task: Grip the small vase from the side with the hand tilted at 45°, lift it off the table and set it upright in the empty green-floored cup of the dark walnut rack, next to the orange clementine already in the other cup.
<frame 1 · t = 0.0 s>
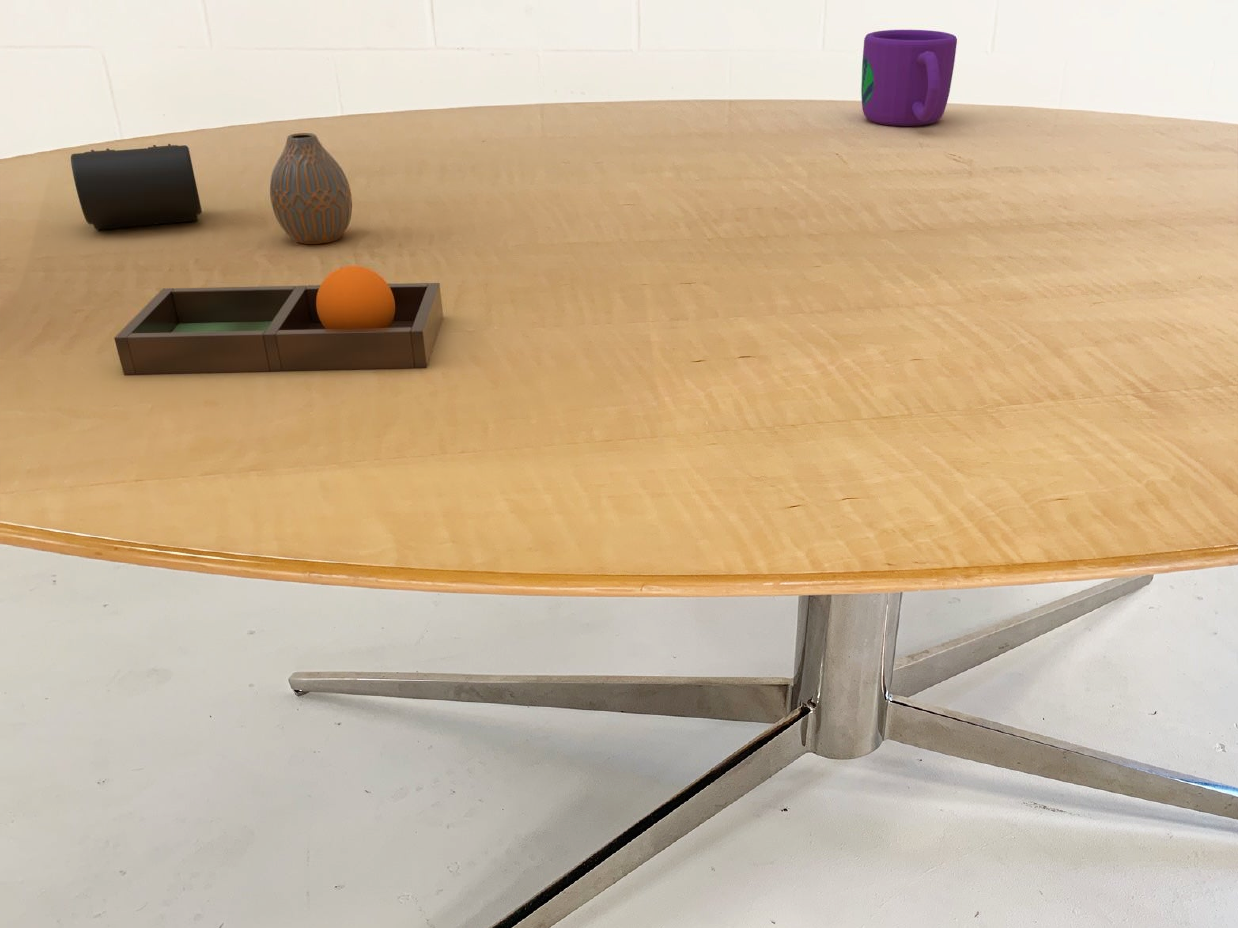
rack: (294, 352, 81), on the table
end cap: (148, 226, 110), on the table
mug: (908, 126, 148), on the table
vase: (318, 240, 105), on the table
clementine: (361, 342, 81), point 1 cm above the table, touching rack
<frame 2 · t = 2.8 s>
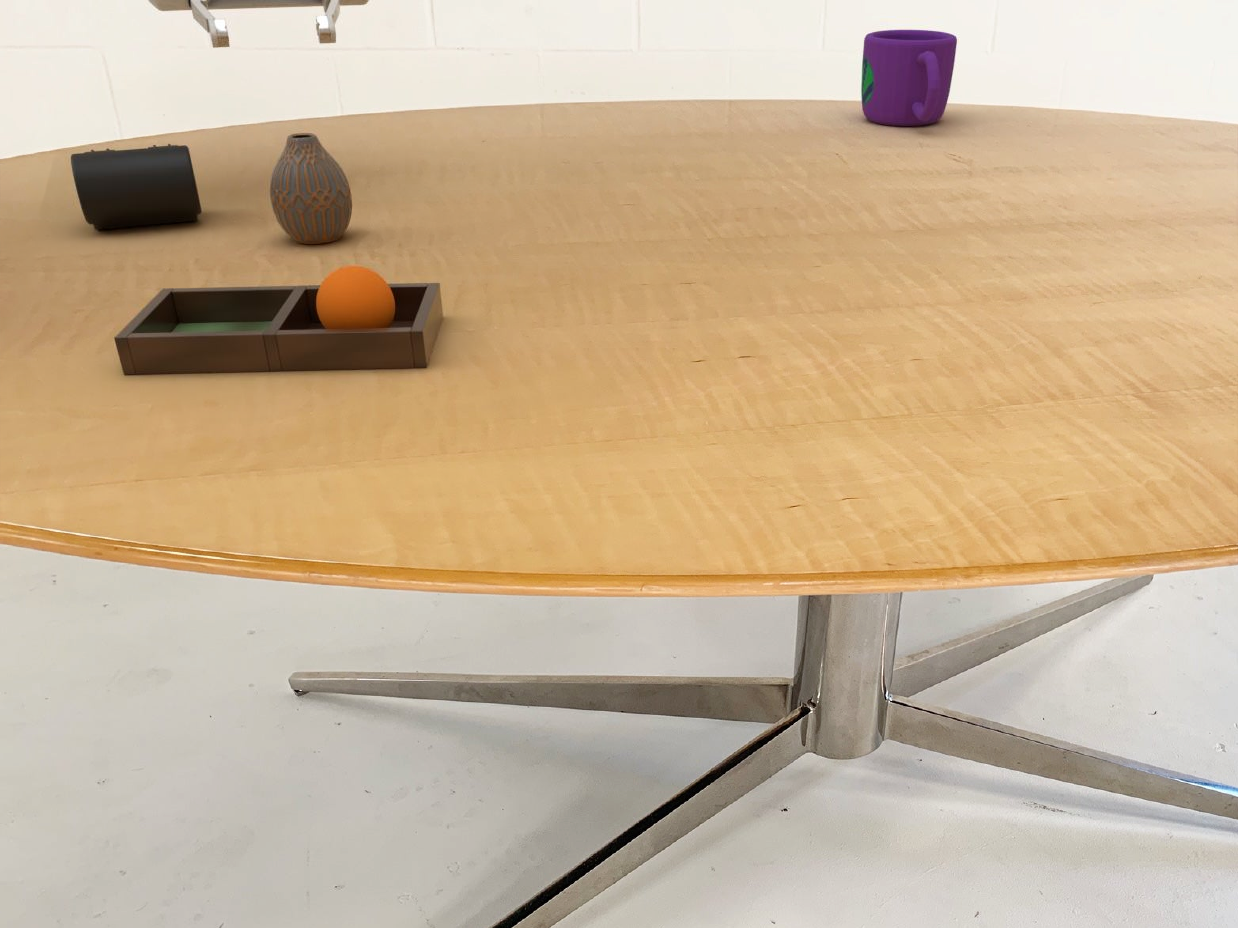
hand: (275, 41, 106), 15 cm above the table, tool tilted 45°, fingers open, 8 cm apart
nothing on the table moved.
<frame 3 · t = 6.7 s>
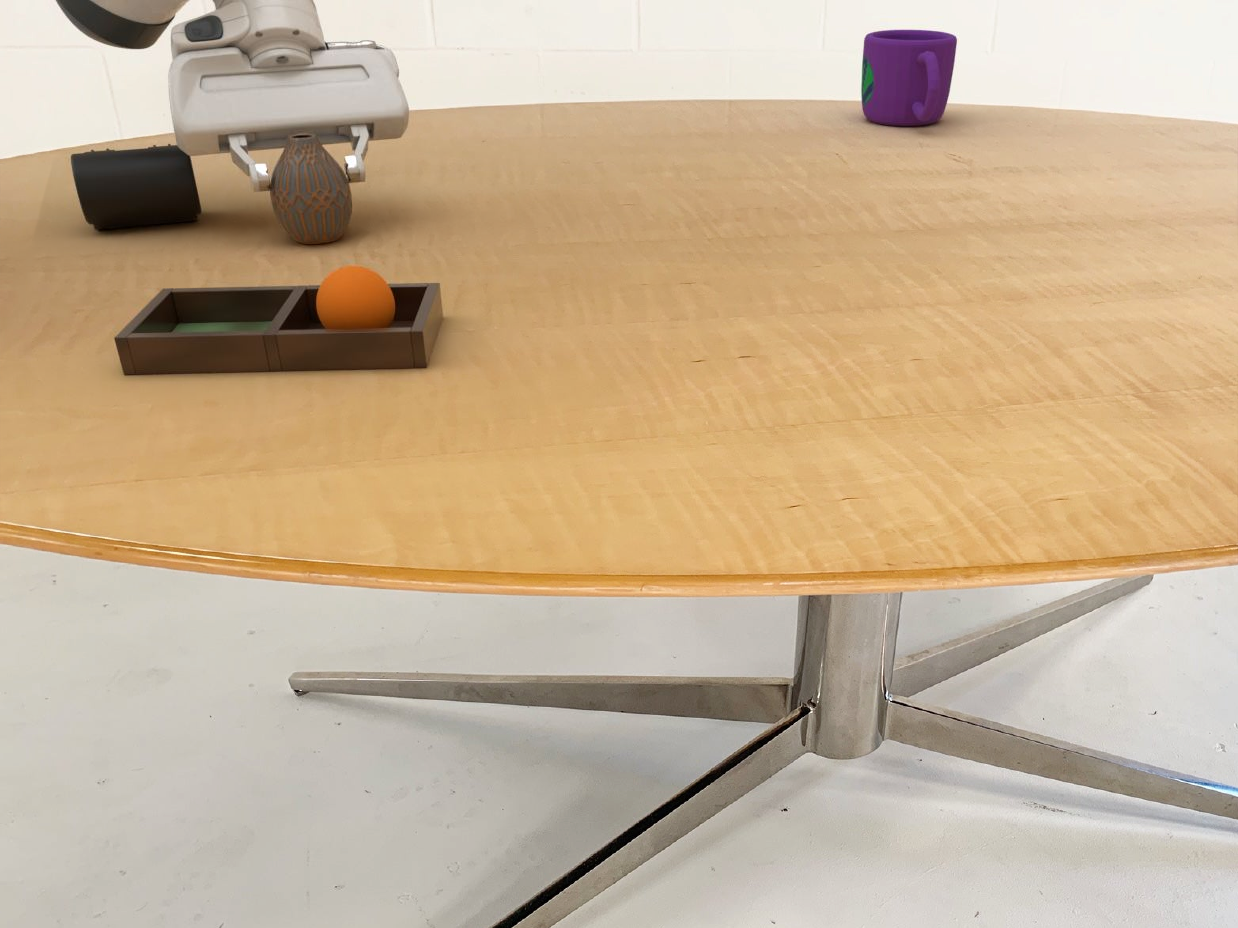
hand: (309, 183, 102), 5 cm above the table, tool tilted 45°, fingers closed on vase, 7 cm apart
vase: (318, 240, 105), on the table, touching gripper
everything else where it was.
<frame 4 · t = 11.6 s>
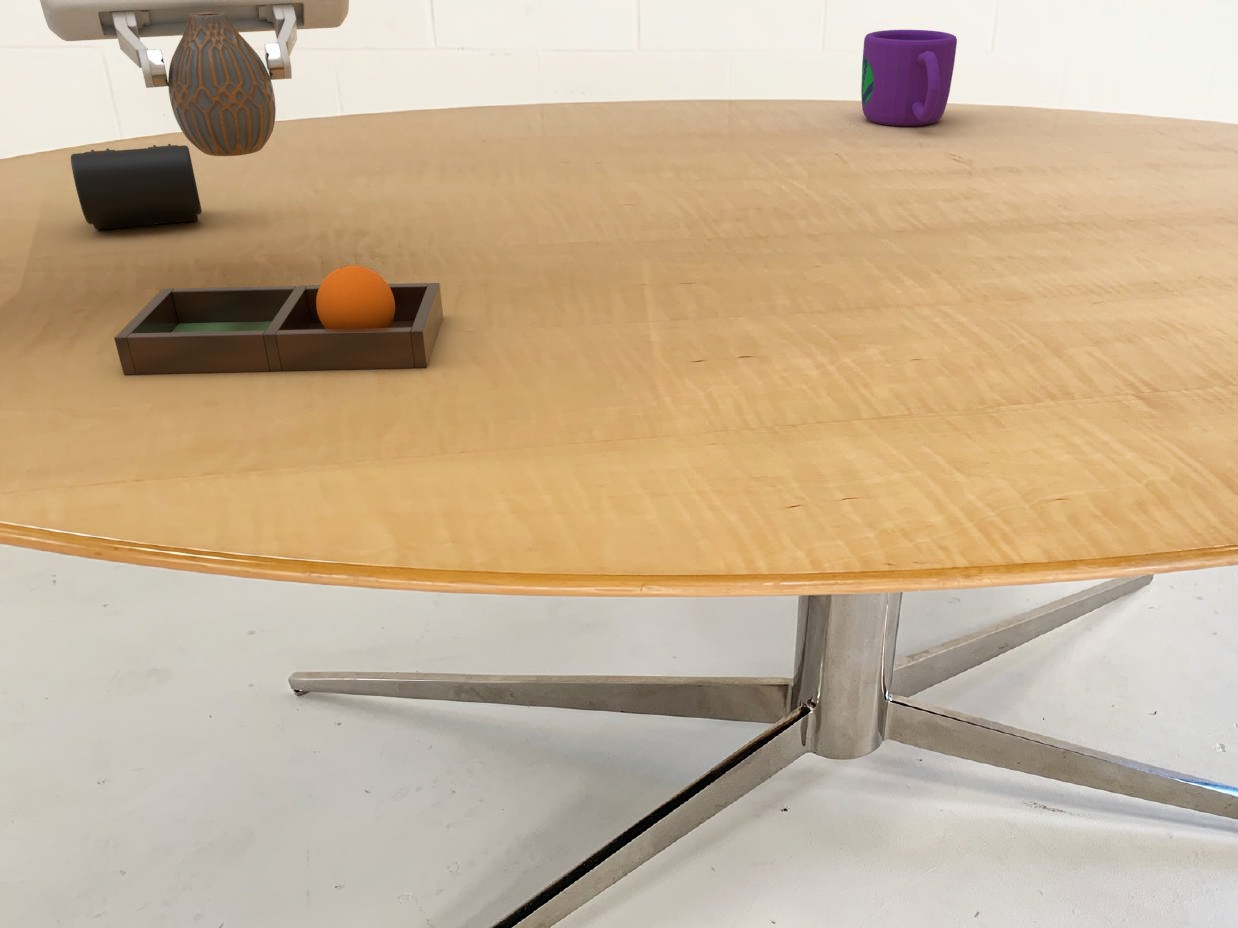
hand: (219, 77, 80), 16 cm above the table, tool tilted 45°, fingers closed on vase, 7 cm apart
vase: (233, 153, 83), point 11 cm above the table, touching gripper
everything else where it was.
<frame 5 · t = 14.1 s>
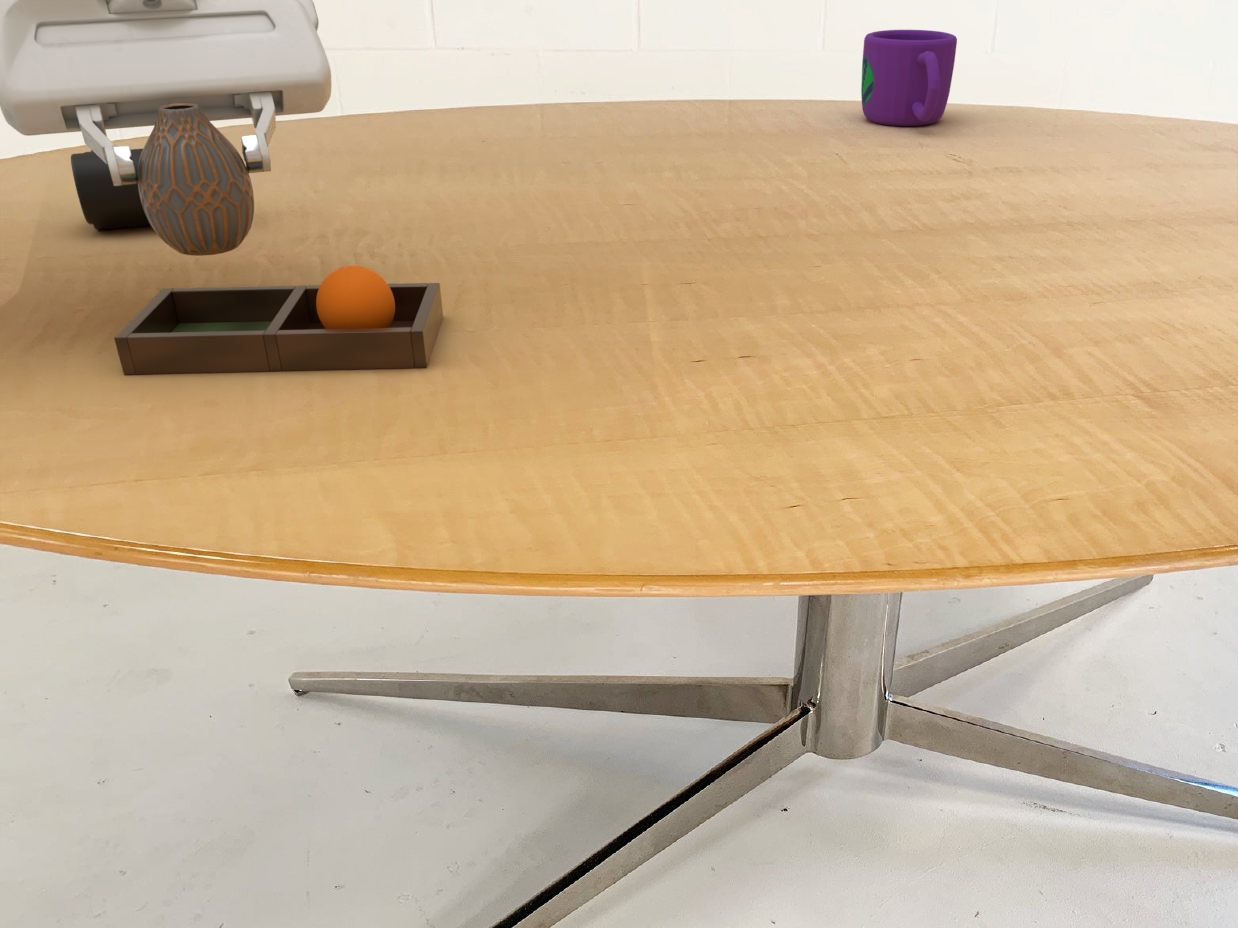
hand: (192, 173, 74), 12 cm above the table, tool tilted 45°, fingers closed on vase, 7 cm apart
vase: (209, 250, 77), point 7 cm above the table, touching gripper
everything else where it was.
when the fingers open (5 cm above the table, at t = 16.4 s): vase stays where it is, resting on rack.
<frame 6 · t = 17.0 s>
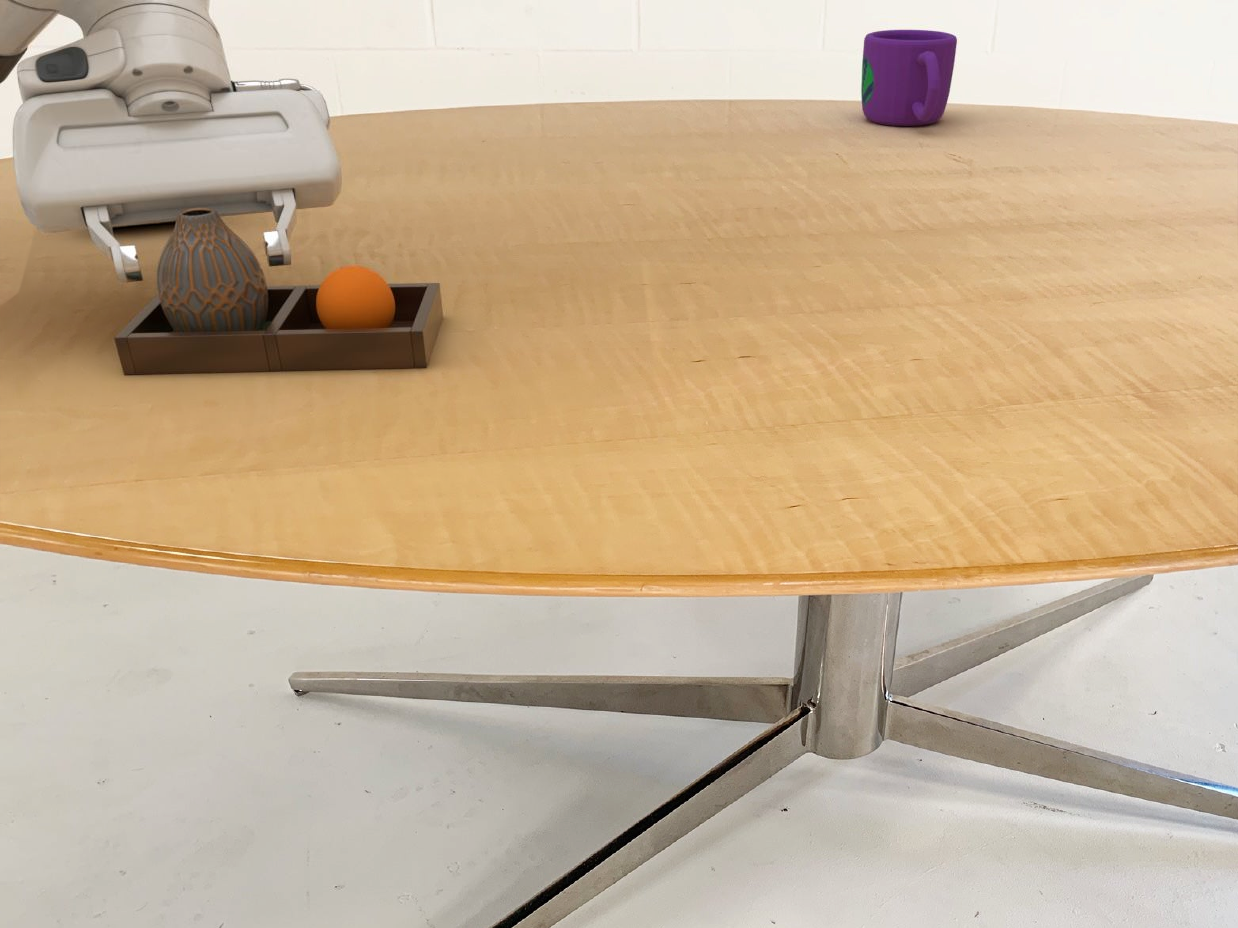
hand: (206, 269, 77), 6 cm above the table, tool tilted 45°, fingers open, 8 cm apart
vase: (224, 344, 80), point 1 cm above the table, touching rack
everything else where it was.
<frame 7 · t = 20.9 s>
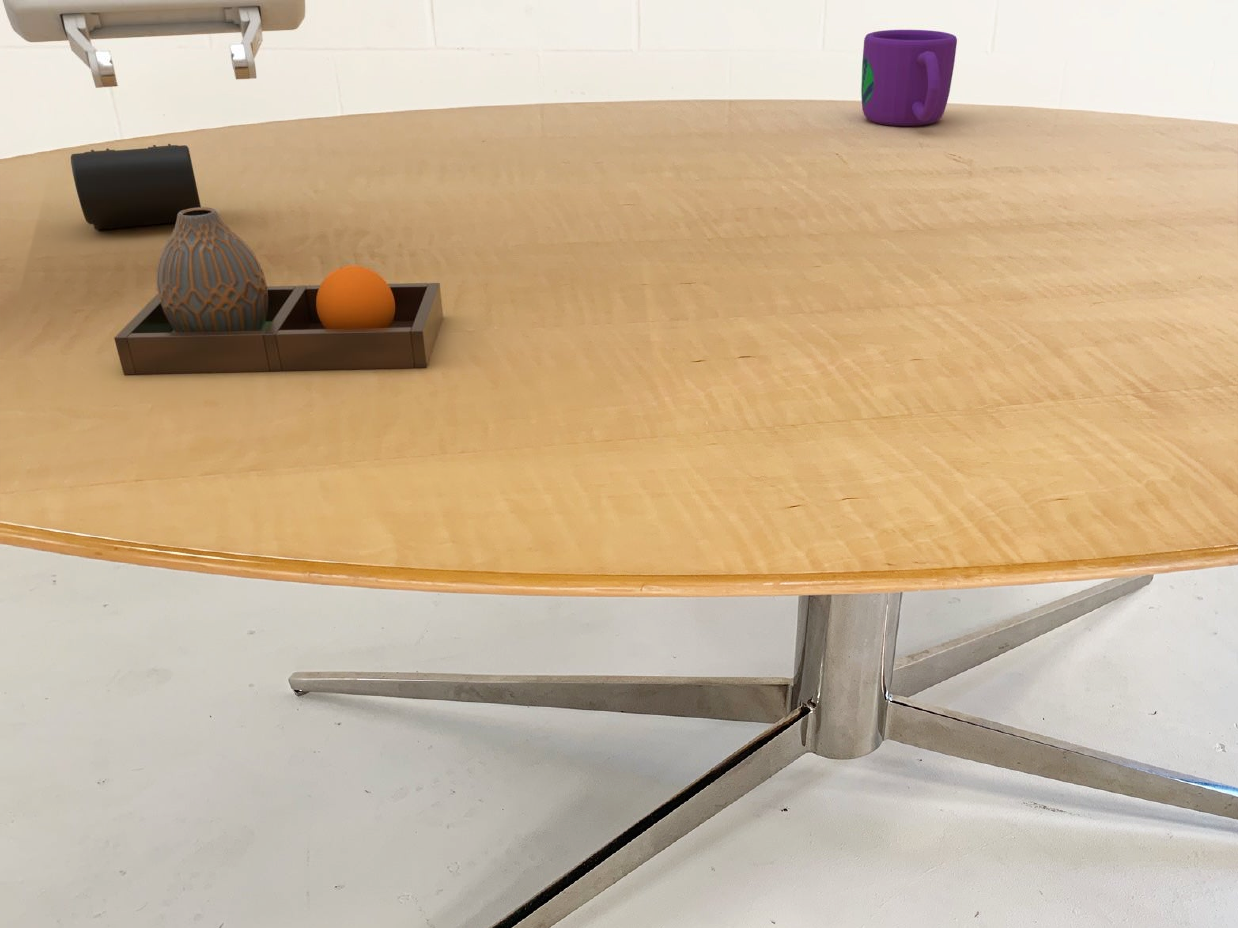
hand: (176, 77, 83), 16 cm above the table, tool tilted 45°, fingers open, 8 cm apart
nothing on the table moved.
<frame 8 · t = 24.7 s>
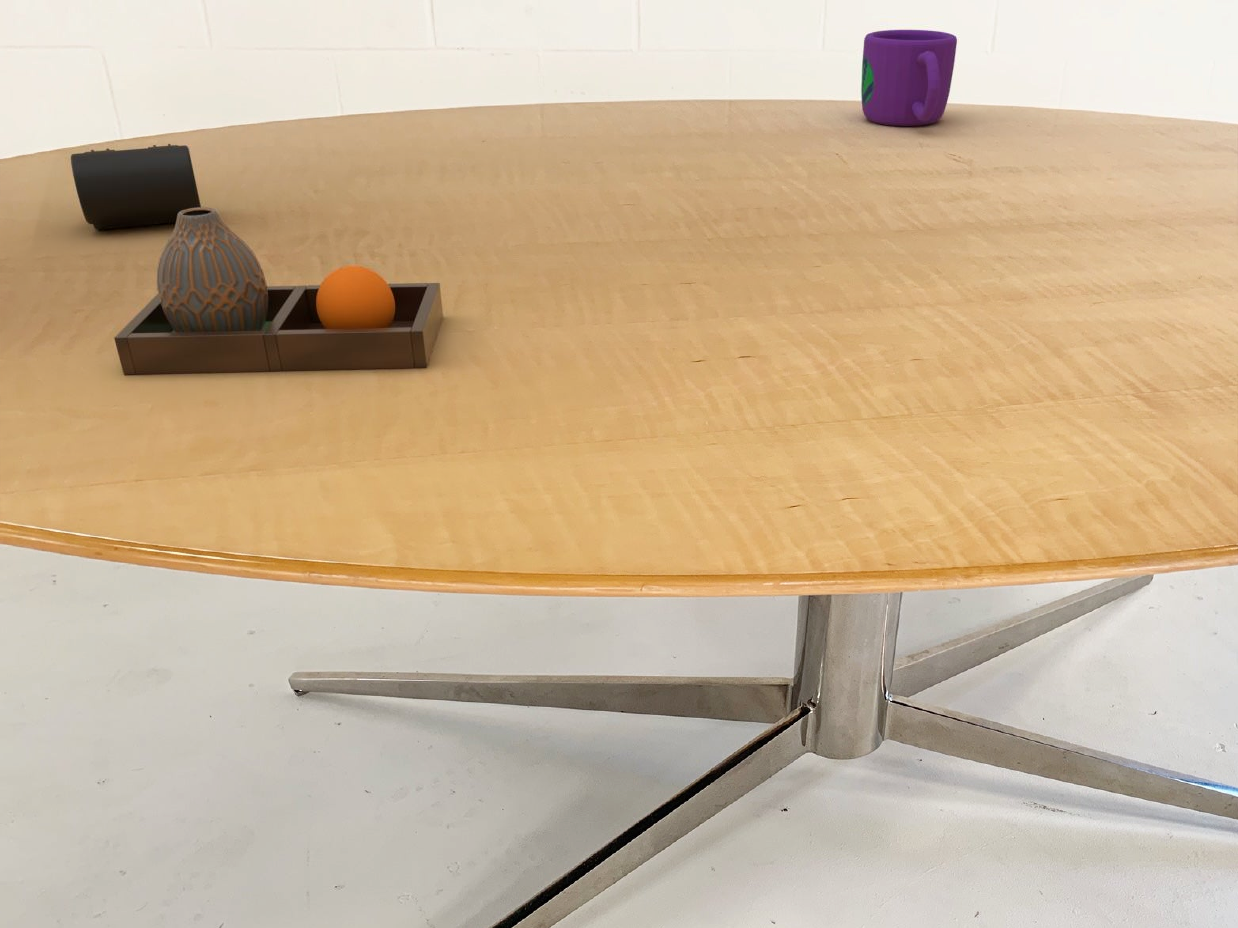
nothing on the table moved.
at the end: vase inside the target area in the rack (0.2 cm from its centre), point 0.6 cm above the rack's base; vase tilted 0°; the gripper is holding nothing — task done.
